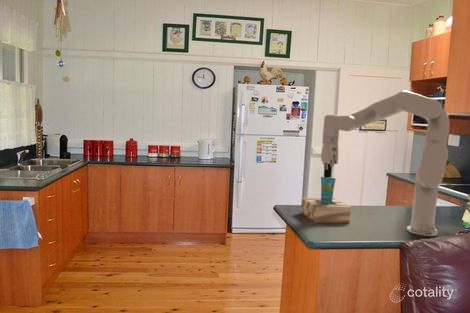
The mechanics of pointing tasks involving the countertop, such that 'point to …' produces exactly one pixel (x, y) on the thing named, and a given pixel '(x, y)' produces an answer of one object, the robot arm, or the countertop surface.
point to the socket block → (325, 211)
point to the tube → (327, 190)
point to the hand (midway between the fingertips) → (327, 177)
